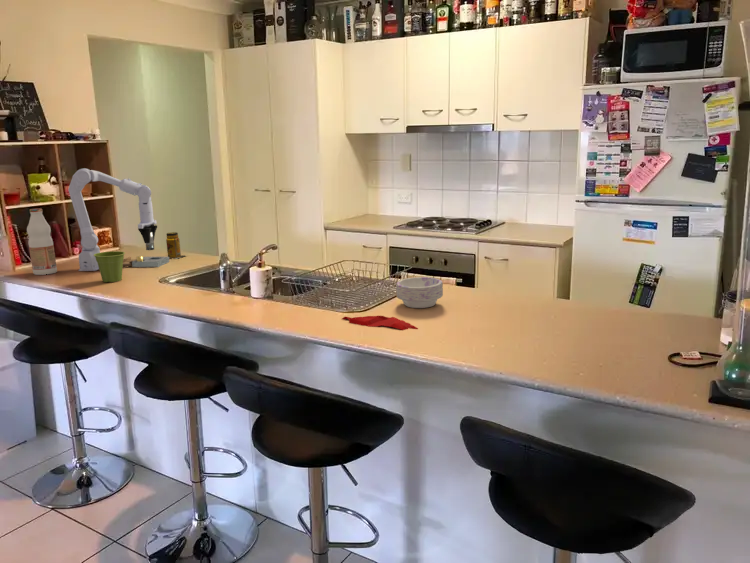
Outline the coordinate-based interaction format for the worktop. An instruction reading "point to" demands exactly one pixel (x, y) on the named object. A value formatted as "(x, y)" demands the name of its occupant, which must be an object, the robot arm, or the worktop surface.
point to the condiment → (173, 245)
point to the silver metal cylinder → (150, 245)
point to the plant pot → (110, 265)
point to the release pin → (139, 258)
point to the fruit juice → (41, 244)
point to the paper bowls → (419, 291)
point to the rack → (128, 262)
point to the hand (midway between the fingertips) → (149, 242)
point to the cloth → (380, 322)
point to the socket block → (151, 262)
